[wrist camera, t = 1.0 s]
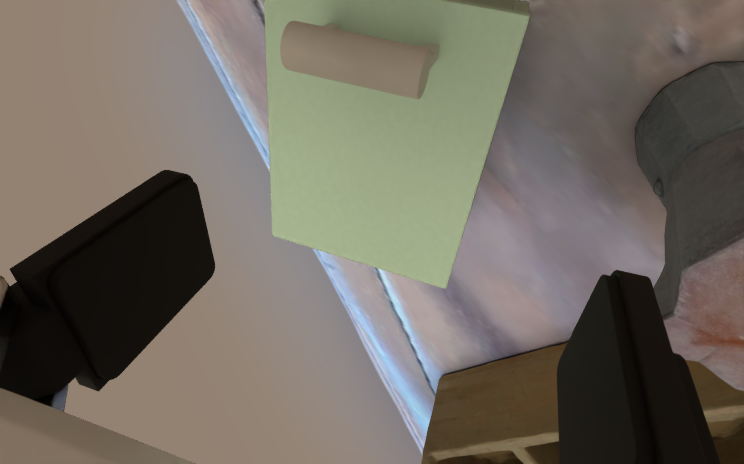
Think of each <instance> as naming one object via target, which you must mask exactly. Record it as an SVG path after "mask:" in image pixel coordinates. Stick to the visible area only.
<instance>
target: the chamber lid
mask: <svg viewBox="0 0 744 464" xmlns="http://www.w3.org/2000/svg"><path fill="white" fill-rule="evenodd" d="M264 12H265V41H266V70H267V99H268V128H269V157H270V185H271V213H272V235H273V236H275V237H278V238H281V239H284V240H287V241H291V242H294V243H297V244H301V245H304V246H307V247H310V248H313V249H317V250H320V251H323V252H326V253H330V254H333V255H336V256H339V257H343V258H346V259H349V260H353V261H356V262H359V263H362V264H366V265H369V266H372V267H375V268H379V269H382V270H385V271H388V272H392V273H395V274H398V275H401V276H405V277H408V278H411V279H414V280H418V281H421V282H424V283H427V284H431V285H434V286H437V287H440V288H444V289H446V287H447V284H448V281H449V277H450V274H451V271H452V268H453V264H454V261H455V258H456V255H457V252H458V248H459V245H460V242H461V239H462V235H463V232H464V229H465V226H466V222H467V219H468V216H469V213H470V210H471V206H472V203H473V200H474V197H475V193H476V190H477V187H478V184H479V180H480V177H481V174H482V171H483V167H484V164H485V161H486V158H487V155H488V151H489V148H490V145H491V142H492V138H493V135H494V132H495V129H496V125H497V122H498V119H499V116H500V113H501V109H502V106H503V103H504V100H505V96H506V93H507V90H508V87H509V83H510V80H511V77H512V74H513V70H514V67H515V64H516V61H517V58H518V54H519V51H520V48H521V45H522V41H523V38H524V35H525V32H526V28H527V25H528V22H529V19H530V13H526V12H520V11H515V10H509V9H504V8H498V7H493V6H487V5H482V4H476V3H471V2H465V1H460V0H264Z"/></svg>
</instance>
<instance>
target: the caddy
mask: <svg viewBox="0 0 744 464" xmlns="http://www.w3.org/2000/svg"><path fill="white" fill-rule="evenodd" d="M567 343H568V342H567ZM567 343H564V344H561V345H555V346H550V347H547V348H543V349H540V350H536V351H533V352H530V353H526V354H522V355H518V356H515V357H511V358H507V359H503V360H498V361H494V362H491V363H488V364H485V365H482V366H479V367H474V368H471V369H467V370H464V371H460V372H457V373H452V374H448V375H445V376H443V377H441V378H440V379H439V383H438V387H437V392H436V397H435V402H434V407H433V411H432V415H431V419H430V423H429V427H428V431H427V436H426V441H425V446H424V450H423V459H422V463H421V464H560V460H559V431H558V401H557V367H558V363H559V360H560V357H561V355H562V353H563V351H564V349H565V347H566V345H567ZM685 361H686V363H687V365H688V367H689V370H690V373H691V376H692V379H693V382H694V385H695V388H696V391H697V394H698V397H699V400H700V403H701V406H702V409H703V412H704V415H705V418H706V421H707V424H708V427H709V430H710V433H711V436H712V439H713V442H714V445H715V448H716V451H717V454H718V457H719V460H720V463H721V464H744V391H741V390H737V389H735V388H733V387H732V386H730V385H729V384H728V383H726V382H725V381H723V380H722V379H720V378H719V377H718V376H717V375H715V374H714V373H713V372H712V371H711V370H709V369H708V368H707V367H706V366H704V365H703V364H701V363H700V362H698V361H690V360H685Z"/></svg>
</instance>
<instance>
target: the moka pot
mask: <svg viewBox="0 0 744 464" xmlns="http://www.w3.org/2000/svg"><path fill="white" fill-rule="evenodd" d="M635 144H636V152H637V160H638V164H639V166H640V168H641V170H642V171H643V173H644V175H645V176H646V178H647V180H648V181H649V183H650V184H651V186H652V187H653V191H654V192H655V194H656V195H658V197H659V199H660V200H661V202H662V204H663V205H664V207H665V208H666V210H667V219H666V227H665V266H664V268H663V271H662V273H661V275H660V277H659V279H658V281H657V283H656V284H655V286H654V288H653V289H654V292H655V296H656V299H657V302H658V305H659V309H660V312H661V315H662V318H663V322H664V325H665V328H666V331H667V334H668V338H669V341H670V344H671V347H672V351H673V353H676V354H680V355H681V356H682V357H683V358H684V359H685V360H690V361H698V362H700V363H701V364H703V365H704V366H706V367H707V368H708V369H709V370H711V371H712V372H713V373H714V374H715V375H717V376H718V377H719V378H720V379H722V380H723V381H725V382H726V383H728V384H729V385H730V386H732V387H733V388H735V389H737V390H741V391H744V62H726V63H721V62H718V63H714V64H711V65H708V66H705V67H703V68H700V69H698V70H696V71H694V72H692V73H690V74H689V75H686V76H684V77H682V78H680V79H679V80H677V81H674V82H672V83H671V84H669V85H668V86H667V87H665V88H664V89H663V90H662V91H661V92H660V93H659V94H658V95H657V96H656V97H655V98H654V99H653V101H652V102H651V104H650V105H649V106H648V108H647V109H646V110H645V112H644V113H643V115H642V116H641V117H640V119H639V121H638V123H637V126H636V128H635Z"/></svg>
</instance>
